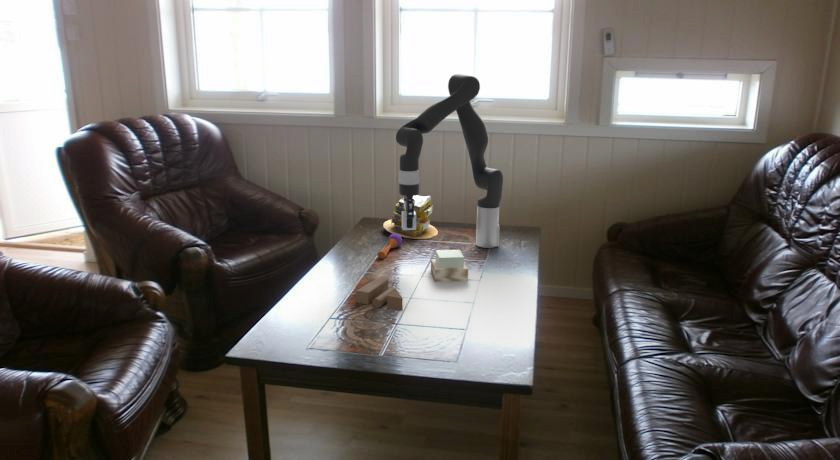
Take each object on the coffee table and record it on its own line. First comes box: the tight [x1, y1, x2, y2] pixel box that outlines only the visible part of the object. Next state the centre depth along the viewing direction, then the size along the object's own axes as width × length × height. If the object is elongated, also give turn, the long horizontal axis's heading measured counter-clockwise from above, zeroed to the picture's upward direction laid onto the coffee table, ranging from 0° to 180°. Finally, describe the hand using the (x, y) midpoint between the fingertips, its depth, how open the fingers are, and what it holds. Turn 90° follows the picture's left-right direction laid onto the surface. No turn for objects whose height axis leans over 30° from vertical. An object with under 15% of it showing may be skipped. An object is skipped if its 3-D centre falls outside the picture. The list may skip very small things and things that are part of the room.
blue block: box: [402, 211, 416, 230], centre depth 249 cm, size 5×5×6 cm
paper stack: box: [383, 194, 439, 240], centre depth 297 cm, size 25×25×17 cm
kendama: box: [376, 233, 403, 260], centre depth 270 cm, size 6×6×20 cm
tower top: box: [435, 249, 465, 268], centre depth 242 cm, size 9×9×4 cm
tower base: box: [430, 258, 469, 283], centre depth 243 cm, size 12×12×5 cm
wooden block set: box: [355, 275, 404, 312], centre depth 220 cm, size 17×6×18 cm
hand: (408, 225), depth 249 cm, fingers closed on blue block, 5 cm apart
